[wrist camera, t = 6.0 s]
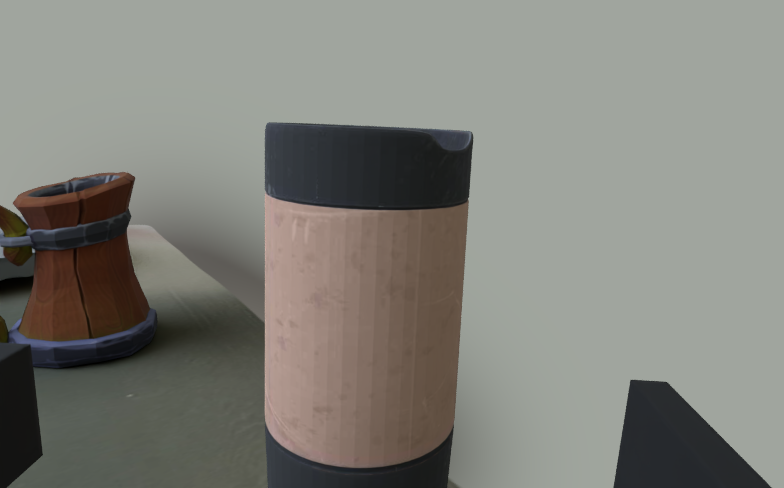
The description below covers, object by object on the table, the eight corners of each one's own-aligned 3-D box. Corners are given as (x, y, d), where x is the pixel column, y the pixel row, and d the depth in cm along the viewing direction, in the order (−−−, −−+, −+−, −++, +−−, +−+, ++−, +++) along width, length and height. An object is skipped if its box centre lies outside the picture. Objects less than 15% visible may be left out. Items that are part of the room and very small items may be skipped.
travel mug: (274, 527, 27) (271, 122, 23) (423, 518, 28) (448, 129, 24) (256, 681, 20) (247, 122, 15) (460, 661, 21) (506, 133, 16)
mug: (-109, 408, 36) (-150, 186, 33) (-84, 346, 45) (-114, 168, 42) (172, 352, 46) (163, 179, 43) (145, 311, 55) (136, 166, 52)
